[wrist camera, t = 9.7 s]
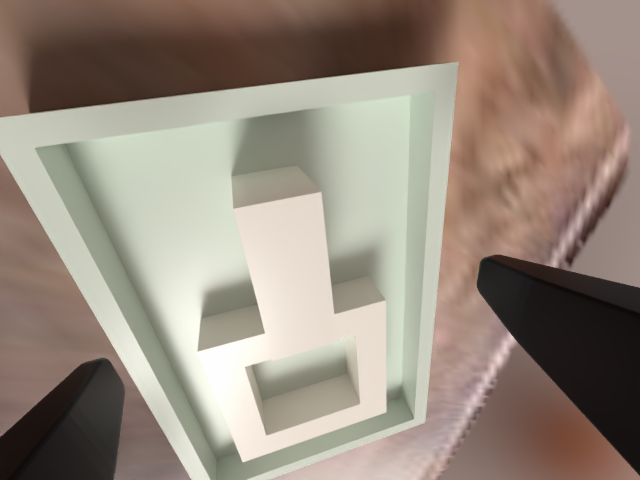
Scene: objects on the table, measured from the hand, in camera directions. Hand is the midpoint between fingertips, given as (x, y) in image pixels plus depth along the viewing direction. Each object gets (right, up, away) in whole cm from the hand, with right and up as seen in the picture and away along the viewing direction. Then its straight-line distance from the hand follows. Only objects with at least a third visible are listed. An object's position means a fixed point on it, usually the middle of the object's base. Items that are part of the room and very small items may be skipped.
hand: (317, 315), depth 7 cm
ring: (-1, -2, +8) cm, 8 cm away
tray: (-1, -2, +8) cm, 9 cm away
